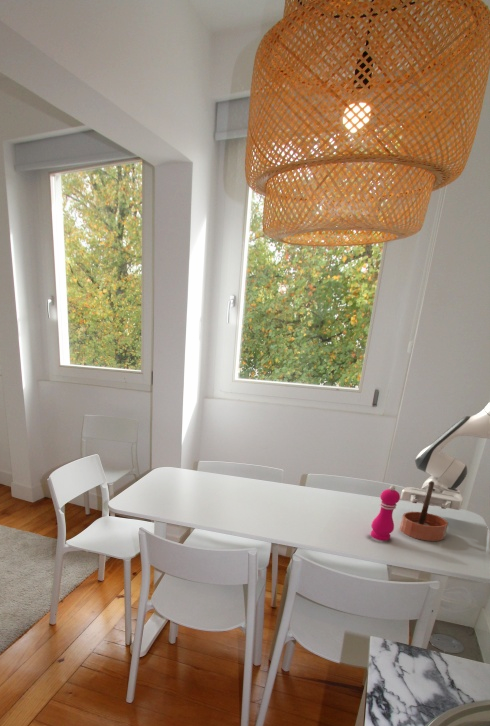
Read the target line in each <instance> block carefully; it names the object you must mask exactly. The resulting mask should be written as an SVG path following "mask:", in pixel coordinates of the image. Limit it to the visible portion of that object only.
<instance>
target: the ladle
mask: <svg viewBox="0 0 490 726" xmlns="http://www.w3.org/2000/svg"><path fill="white" fill-rule="evenodd" d="M433 487H434V482H433V481H430V482H429V483H428V487H427V491H426V495H425V499H424V503H422V508H421V511H420V512H421V516H420V520H419V522H415V523H418V524H422V525H427V526H429V525H428V524H426V523H425V519H426V515H427V513H428V511H429V507H430V505H429V503H430V499H431V495H432V491H433Z"/></svg>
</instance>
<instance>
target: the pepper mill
mask: <svg viewBox="0 0 490 726" xmlns="http://www.w3.org/2000/svg"><path fill="white" fill-rule="evenodd" d="M400 500H401V494H400V492H399V491H397V490H396V486H395V485H390V486H389V488H387V489H385V490H382V492H381V494H380V504H379V506H380V510H379V513H378V514H377V515H376V517H375V518H374V519H373V520H372V522H371V529H372V530H371V531H370V537H372V538H373V539H375V540H377V541H382V542H383V541H384V542H385V541H389V540H390V539H391V538H390V537H391V534H392V533H393V532H394V529H395V523H394V518H393V514H394V510H396V507H397V503H399V501H400Z"/></svg>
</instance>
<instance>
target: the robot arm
mask: <svg viewBox="0 0 490 726" xmlns="http://www.w3.org/2000/svg"><path fill="white" fill-rule="evenodd" d="M459 437H475V438H479V439H490V401H488V403H487V404H486V405H485V407H484V408H482V409H481V411H479V412H478V413H475V414H474V415H466V416H464V417H462V418H460V419H459V420H458V421H456V422H455V423H454V424H453V425H452V426H450V427H449V428H448V429H447V430H446V431H445V432H443V433H442V434H441V435H440V436H439V437H437V439H435V440H434V441H433V442H432V443H430V444H429V445H428V446H426V447H425V448H423V449H422V450H421V451H420V452H419V453H418V454H417V455H416V457H415V459H414V463H415V466H416V469H418V470H419V471H421V472H424V473H426V474H428V475H430V476H429V477H427V479H426V480H425V481H424V482H423V484H422V486H421V488H417V487H412V486H406V487H404V488H403V489H402V490H401V493H400V500H403V501H409V502H411V503H412V504H417V503H419V504H423V503H424V499H425V495H426V491H427V487H428V483H429V482H430V481H433V482H434V487H433V491H432V495H431V499H430V503H429V507H430V506H431V507H435V506H436V507H440V509H441V510H442V509H443V510H446V509H451V510H457V511H460V510H461V509H462V506H463V503H464V498H463V495H462V494H461V490H459V489H457V488H458V487H459V486H460V485H461V484H462V483H463V482H464V480H466V477H467V475H468V466H467V464H465V463H464V462H462V461H460V460H459V459H456V458H454V457H452V456H451V455H449V454H447V453H446V452H444V451H442V450H443V449H444V448H445V447H446V446H448V445H449V444H450V443H451V442H452V441H454V440H455V439H456V438H459Z"/></svg>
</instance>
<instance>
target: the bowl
mask: <svg viewBox="0 0 490 726" xmlns="http://www.w3.org/2000/svg"><path fill="white" fill-rule="evenodd" d="M421 512H422V511H408V512H405V513H403V514H402V518H401V522H400V527H399V530H400V531H401V532H402V533H403V534H404V535H406V536H408V537H409V538H410V537H411V538H412V539H415V540H421V541H427V542H428V541H430V542H437V541H438V542H439V541H442V540H444V539H445V537H446V533H447V529H448V526H449V522H448V521H447V520H446V519H445V518H444V517H441V516H439V515H435V514H432V513H428V512H427V515H426V519H425V523H426V524H428V525H429V526H427V525H422V524H418V523H415V522H419V520H420V516H421Z"/></svg>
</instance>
